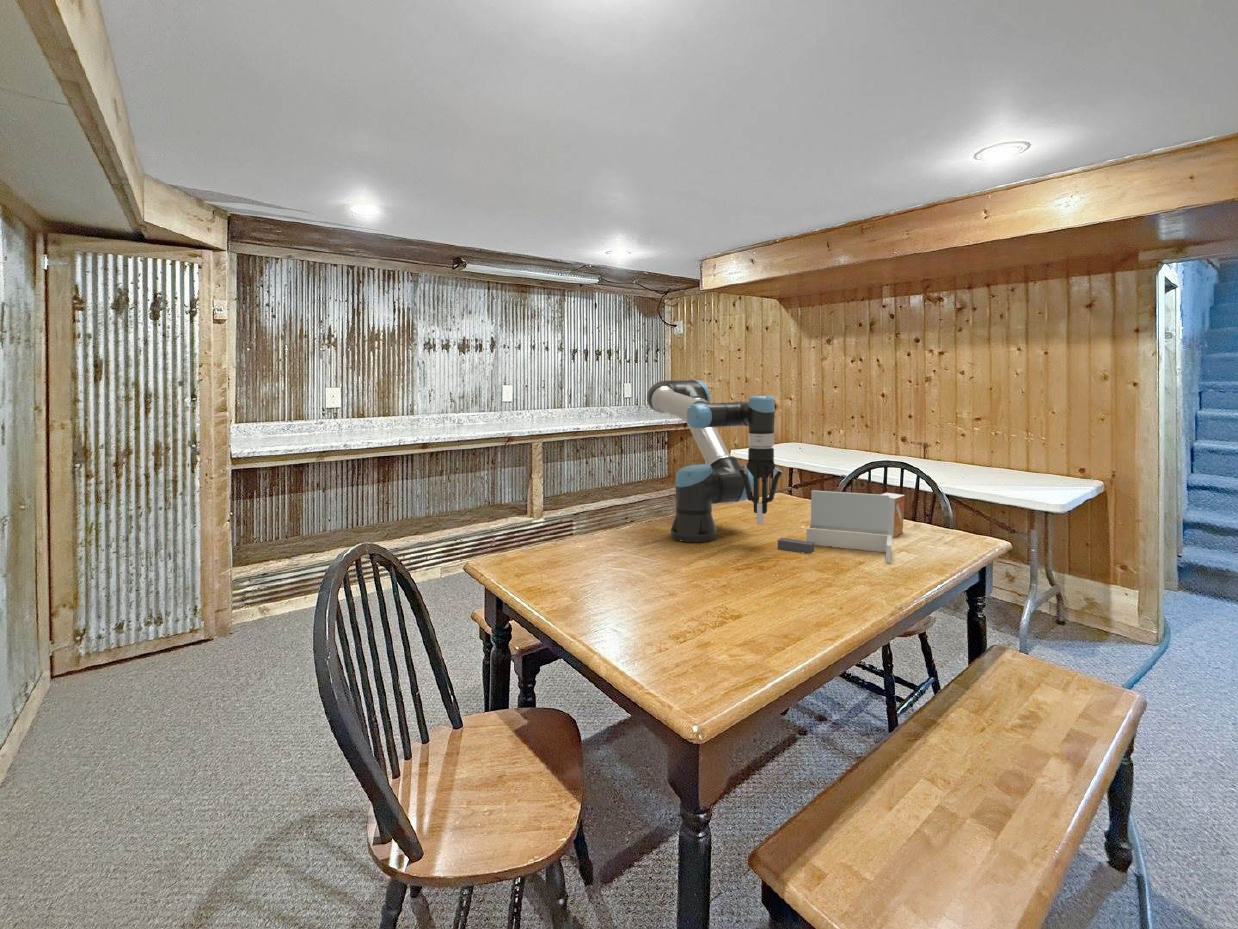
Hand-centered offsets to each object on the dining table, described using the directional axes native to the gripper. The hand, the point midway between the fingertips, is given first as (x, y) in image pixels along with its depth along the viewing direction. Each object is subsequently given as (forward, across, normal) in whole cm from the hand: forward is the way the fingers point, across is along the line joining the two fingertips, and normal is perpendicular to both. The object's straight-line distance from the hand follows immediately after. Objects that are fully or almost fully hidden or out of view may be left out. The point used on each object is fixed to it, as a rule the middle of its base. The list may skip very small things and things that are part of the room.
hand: (760, 523), depth 180 cm
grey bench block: (+7, +25, +4) cm, 26 cm away
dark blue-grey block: (+8, +11, 0) cm, 13 cm away
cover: (-4, +25, +7) cm, 26 cm away
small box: (+8, +36, +30) cm, 47 cm away
